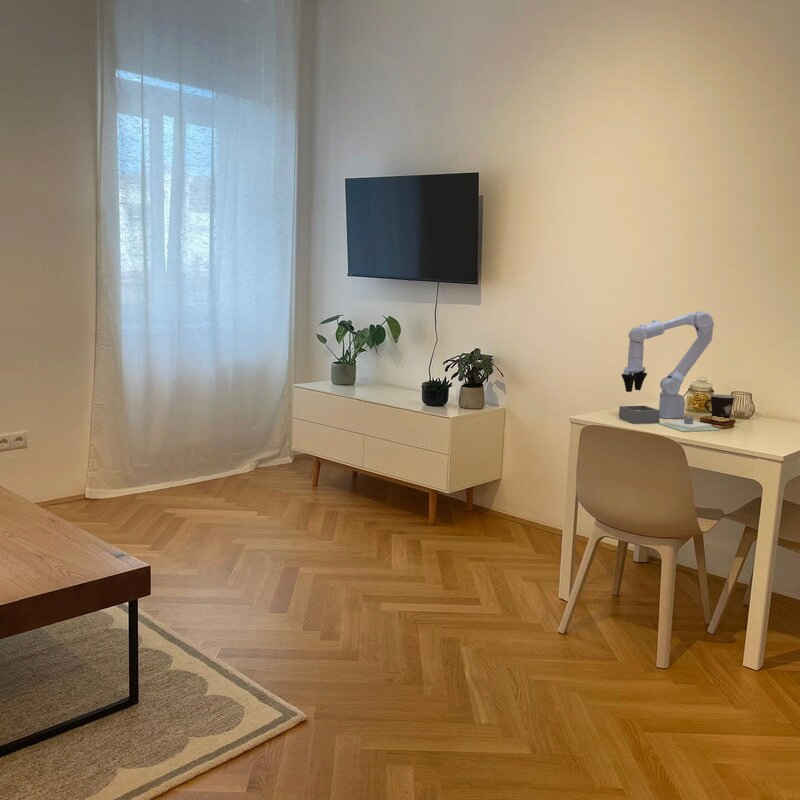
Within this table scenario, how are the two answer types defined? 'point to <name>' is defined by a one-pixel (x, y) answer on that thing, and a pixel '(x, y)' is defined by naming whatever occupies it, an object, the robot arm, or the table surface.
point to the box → (639, 414)
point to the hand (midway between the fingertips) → (633, 390)
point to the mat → (690, 430)
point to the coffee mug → (721, 405)
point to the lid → (688, 424)
